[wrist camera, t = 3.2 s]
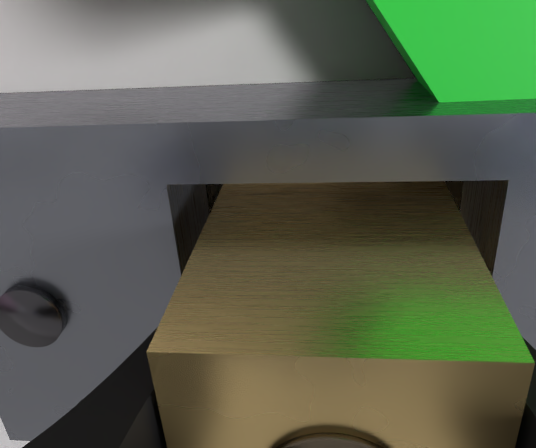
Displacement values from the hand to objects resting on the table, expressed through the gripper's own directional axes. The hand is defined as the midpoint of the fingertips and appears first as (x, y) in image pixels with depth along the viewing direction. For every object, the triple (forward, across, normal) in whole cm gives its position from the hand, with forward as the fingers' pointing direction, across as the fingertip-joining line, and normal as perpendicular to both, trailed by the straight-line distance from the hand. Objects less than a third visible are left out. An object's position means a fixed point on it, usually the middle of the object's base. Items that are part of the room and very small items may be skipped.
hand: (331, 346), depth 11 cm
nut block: (+4, 0, 0) cm, 4 cm away
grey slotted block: (+4, +2, 0) cm, 4 cm away
